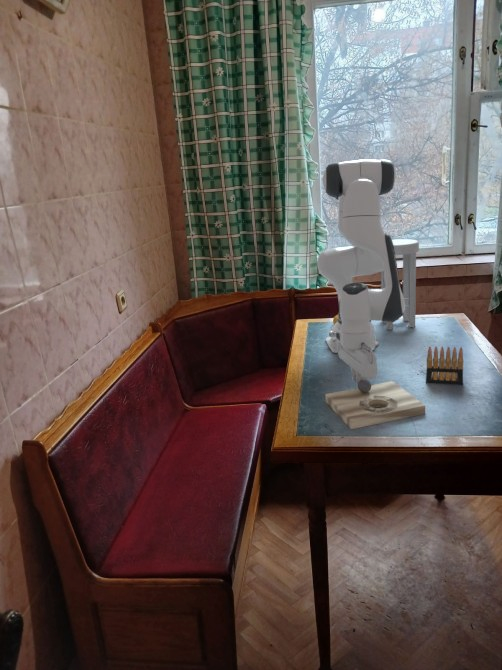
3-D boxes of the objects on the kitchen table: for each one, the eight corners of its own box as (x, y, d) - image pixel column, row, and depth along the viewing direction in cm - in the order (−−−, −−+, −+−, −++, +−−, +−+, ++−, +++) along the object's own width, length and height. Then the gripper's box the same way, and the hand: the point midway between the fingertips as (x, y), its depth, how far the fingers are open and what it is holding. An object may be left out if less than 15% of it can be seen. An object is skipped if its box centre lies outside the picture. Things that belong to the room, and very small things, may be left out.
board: (325, 401, 149) (325, 394, 148) (392, 388, 153) (392, 380, 152) (351, 429, 132) (350, 421, 131) (425, 413, 136) (425, 405, 135)
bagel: (338, 331, 209) (338, 320, 208) (329, 324, 220) (329, 314, 218) (360, 328, 211) (360, 317, 210) (350, 321, 221) (350, 311, 220)
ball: (355, 390, 148) (355, 378, 147) (367, 388, 149) (367, 375, 148) (361, 395, 144) (361, 383, 143) (373, 393, 145) (373, 380, 144)
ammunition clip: (462, 382, 152) (464, 346, 149) (463, 384, 151) (464, 348, 147) (425, 380, 156) (426, 345, 152) (425, 383, 154) (426, 347, 150)
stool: (375, 320, 218) (374, 240, 207) (411, 317, 217) (412, 237, 206) (383, 331, 204) (382, 246, 193) (421, 328, 203) (423, 242, 192)
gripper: (382, 347, 137) (383, 393, 141) (351, 327, 156) (352, 368, 160) (361, 351, 136) (363, 397, 140) (332, 331, 155) (334, 371, 159)
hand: (357, 381), depth 150 cm, fingers closed
